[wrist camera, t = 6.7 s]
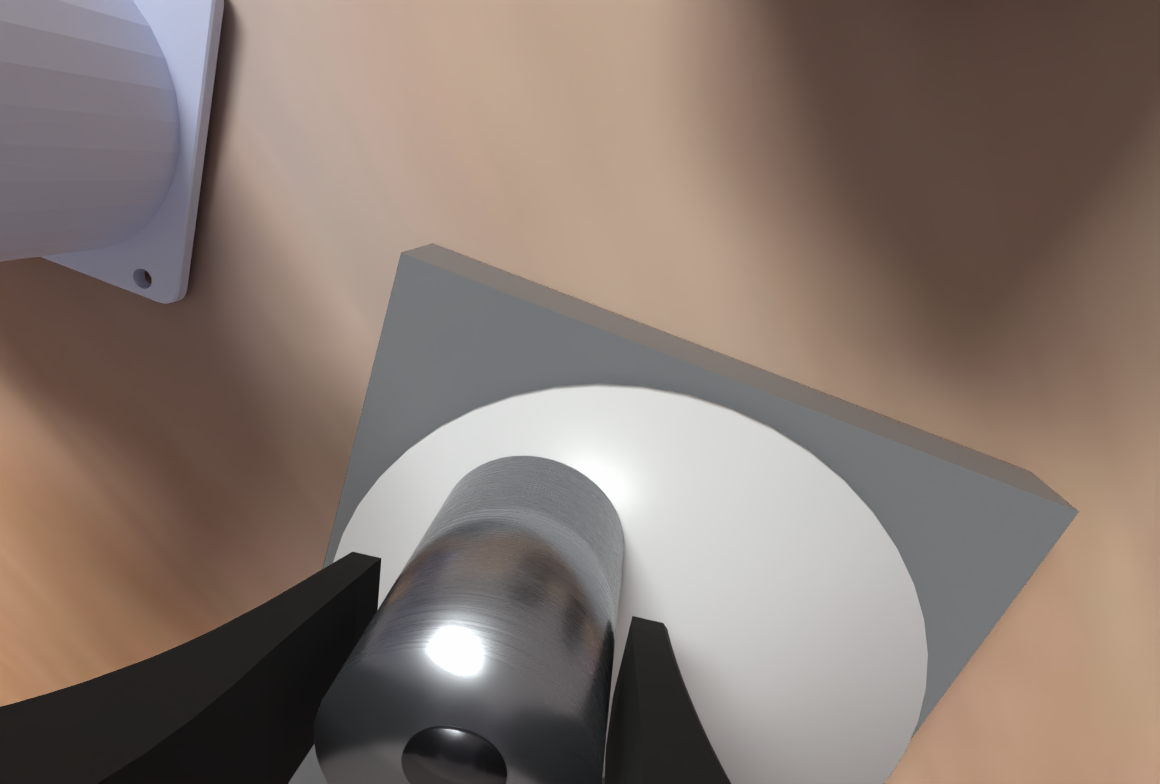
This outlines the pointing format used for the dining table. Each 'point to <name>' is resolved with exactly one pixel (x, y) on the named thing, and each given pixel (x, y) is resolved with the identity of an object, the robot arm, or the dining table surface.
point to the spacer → (488, 641)
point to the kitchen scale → (707, 511)
